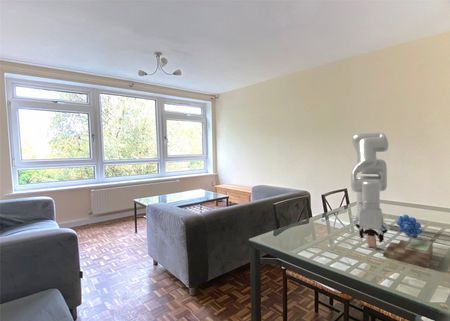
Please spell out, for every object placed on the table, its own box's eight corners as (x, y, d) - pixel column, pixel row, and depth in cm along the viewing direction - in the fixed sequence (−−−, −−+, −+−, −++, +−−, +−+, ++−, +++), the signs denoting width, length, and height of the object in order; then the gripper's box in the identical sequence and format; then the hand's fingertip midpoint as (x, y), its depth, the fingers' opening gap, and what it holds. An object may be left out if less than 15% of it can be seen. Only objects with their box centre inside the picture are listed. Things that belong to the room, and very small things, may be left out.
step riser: (383, 256, 111) (383, 243, 110) (391, 245, 122) (391, 233, 121) (428, 267, 99) (428, 253, 99) (432, 254, 110) (432, 241, 110)
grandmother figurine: (379, 246, 121) (379, 222, 121) (380, 249, 118) (380, 224, 117) (362, 244, 125) (361, 220, 124) (362, 247, 121) (362, 223, 121)
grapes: (393, 235, 135) (393, 214, 135) (398, 232, 139) (397, 212, 139) (419, 241, 126) (419, 218, 125) (423, 237, 130) (423, 216, 130)
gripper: (349, 204, 124) (350, 237, 125) (389, 209, 111) (389, 246, 112) (354, 201, 129) (355, 233, 130) (393, 206, 116) (393, 241, 117)
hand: (371, 239), depth 121 cm, fingers closed on grandmother figurine, 7 cm apart
